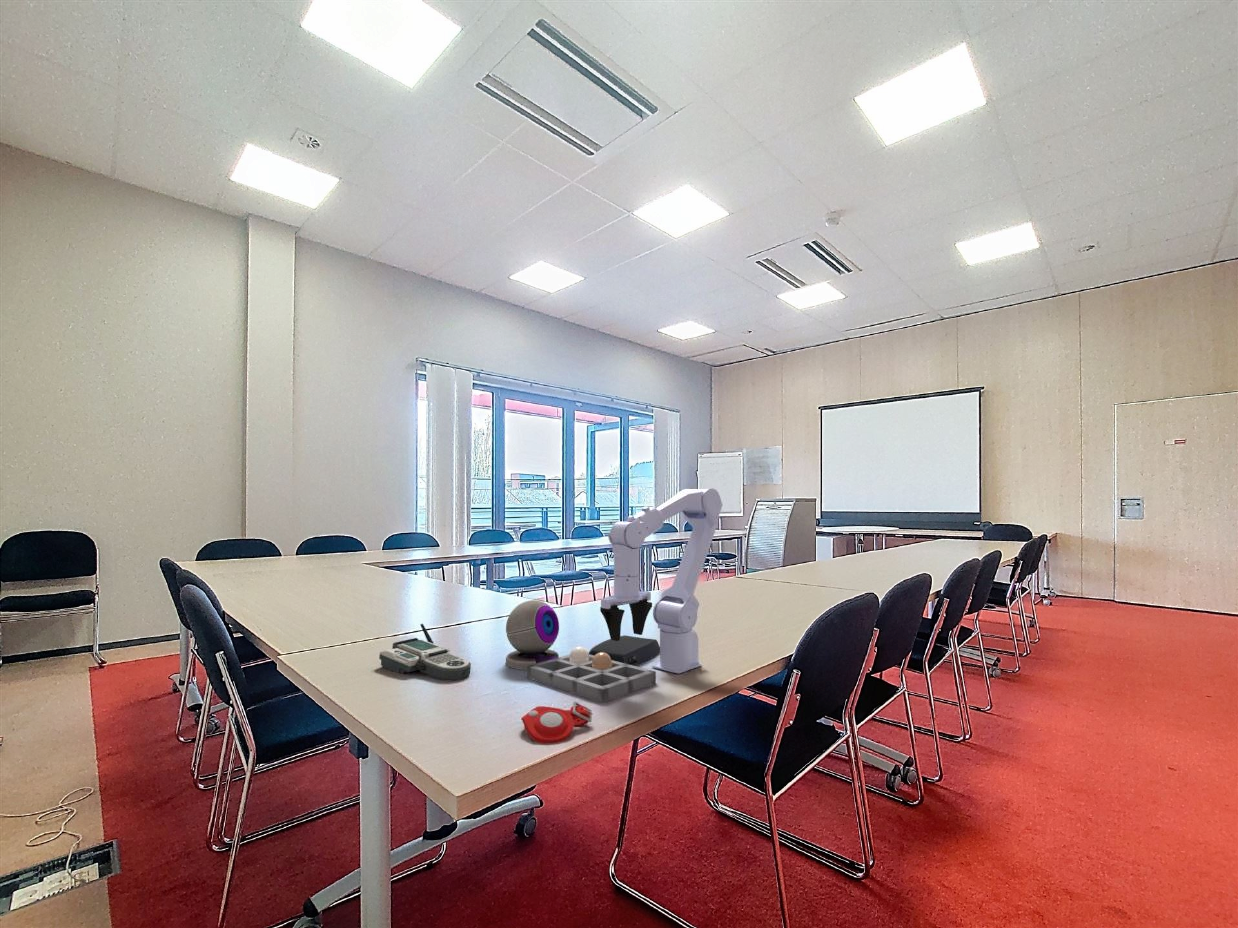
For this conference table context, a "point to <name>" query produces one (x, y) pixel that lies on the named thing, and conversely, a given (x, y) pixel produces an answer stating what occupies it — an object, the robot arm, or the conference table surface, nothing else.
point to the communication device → (424, 659)
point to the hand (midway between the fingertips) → (626, 637)
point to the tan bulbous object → (601, 661)
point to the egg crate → (591, 677)
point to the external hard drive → (628, 649)
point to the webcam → (531, 634)
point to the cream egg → (579, 655)
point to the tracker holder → (555, 722)
